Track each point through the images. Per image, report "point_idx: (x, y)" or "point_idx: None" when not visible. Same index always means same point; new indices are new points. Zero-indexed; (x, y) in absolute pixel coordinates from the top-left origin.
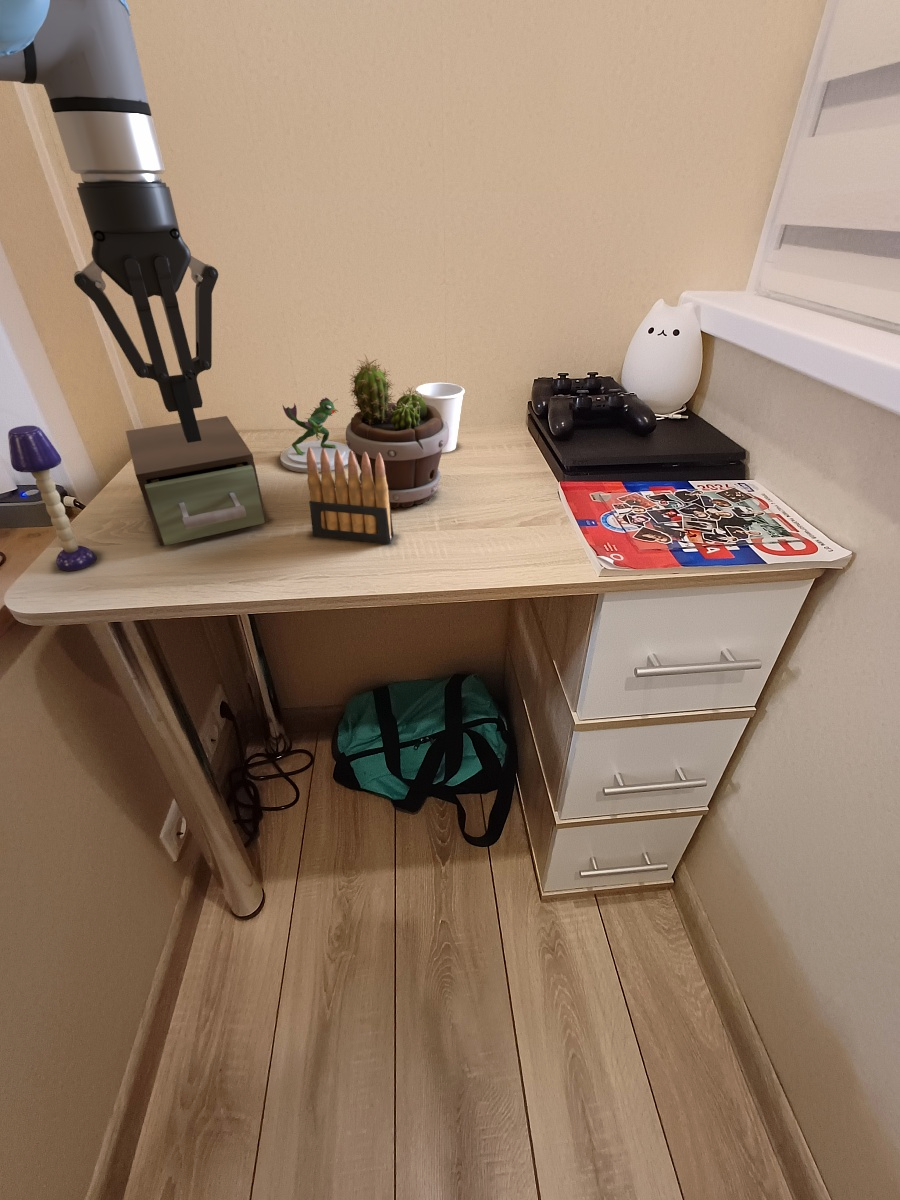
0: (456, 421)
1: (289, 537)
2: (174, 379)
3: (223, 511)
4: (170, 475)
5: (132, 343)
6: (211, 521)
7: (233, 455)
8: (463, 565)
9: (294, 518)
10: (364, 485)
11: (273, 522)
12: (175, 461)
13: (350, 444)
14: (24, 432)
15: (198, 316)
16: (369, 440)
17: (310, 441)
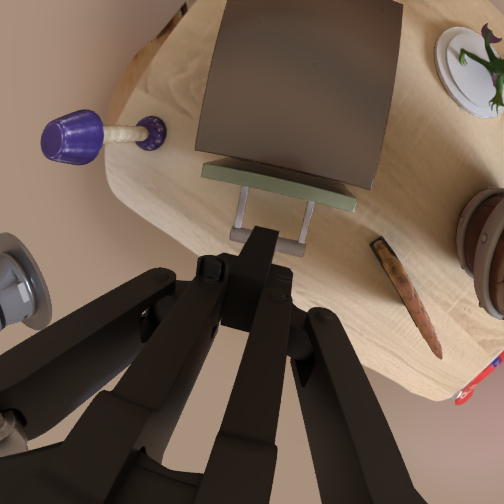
0: None
1: (349, 228)
2: (234, 309)
3: (277, 249)
4: None
5: (127, 364)
6: None
7: (344, 175)
8: (412, 360)
9: (378, 191)
10: (418, 327)
11: None
12: (258, 135)
13: (481, 245)
14: (50, 157)
15: (317, 454)
16: (487, 282)
17: (482, 41)
